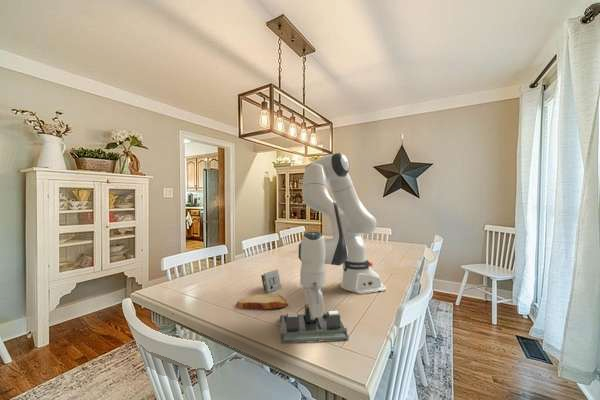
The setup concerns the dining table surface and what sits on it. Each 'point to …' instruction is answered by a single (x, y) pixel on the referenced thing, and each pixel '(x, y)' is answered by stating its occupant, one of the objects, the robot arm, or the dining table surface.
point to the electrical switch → (271, 281)
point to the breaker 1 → (292, 322)
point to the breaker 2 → (333, 320)
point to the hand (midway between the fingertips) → (312, 318)
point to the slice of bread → (262, 302)
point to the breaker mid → (307, 317)
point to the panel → (311, 330)
